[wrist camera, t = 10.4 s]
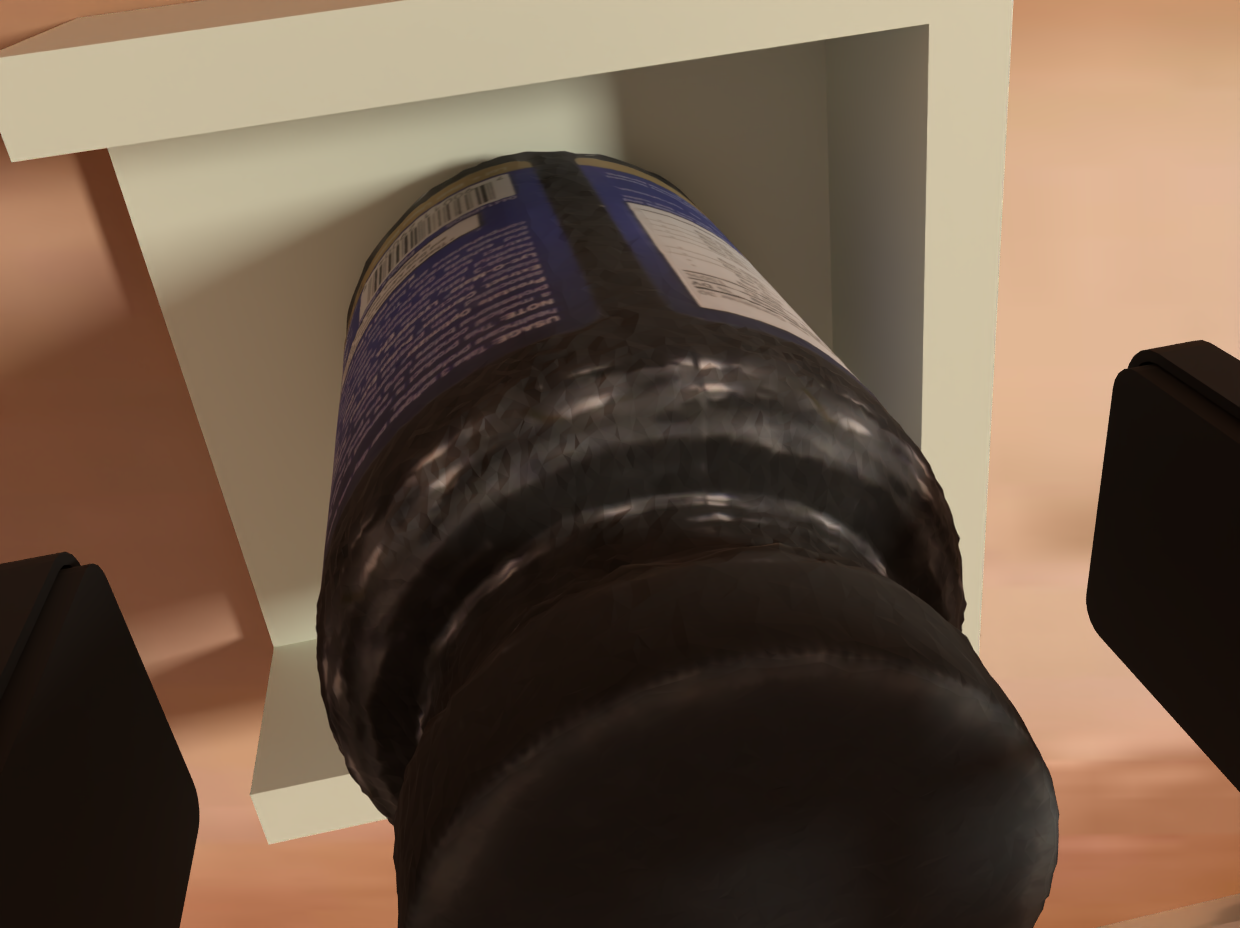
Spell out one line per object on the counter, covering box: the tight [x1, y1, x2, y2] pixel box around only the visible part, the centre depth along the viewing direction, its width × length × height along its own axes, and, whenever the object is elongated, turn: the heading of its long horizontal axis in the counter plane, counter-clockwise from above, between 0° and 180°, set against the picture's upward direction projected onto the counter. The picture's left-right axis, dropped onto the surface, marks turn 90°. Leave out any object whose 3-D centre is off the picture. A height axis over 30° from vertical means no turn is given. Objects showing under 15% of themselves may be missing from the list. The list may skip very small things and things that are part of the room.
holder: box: [0, 0, 1013, 844], centre depth 16 cm, size 11×11×4 cm
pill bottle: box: [316, 151, 1059, 928], centre depth 12 cm, size 6×6×11 cm
